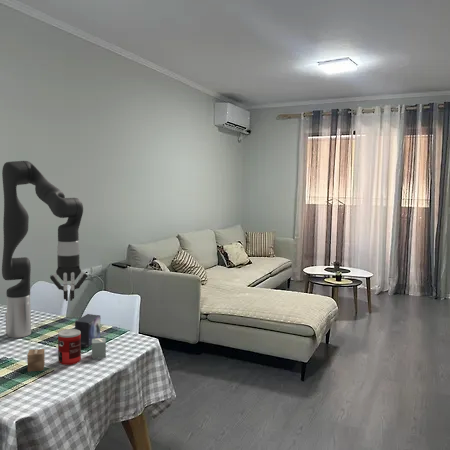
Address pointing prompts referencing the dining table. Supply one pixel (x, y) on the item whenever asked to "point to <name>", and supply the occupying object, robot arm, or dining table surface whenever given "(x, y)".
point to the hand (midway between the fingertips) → (69, 300)
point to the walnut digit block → (36, 360)
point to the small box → (88, 328)
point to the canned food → (69, 346)
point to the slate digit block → (99, 348)
